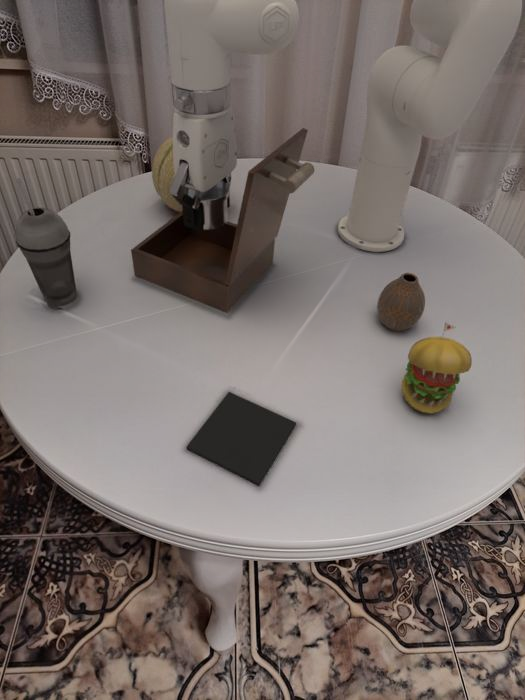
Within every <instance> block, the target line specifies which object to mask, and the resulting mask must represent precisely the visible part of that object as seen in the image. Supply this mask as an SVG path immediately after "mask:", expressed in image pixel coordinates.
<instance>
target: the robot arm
mask: <svg viewBox="0 0 525 700" xmlns="http://www.w3.org/2000/svg"><path fill="white" fill-rule="evenodd" d="M163 2H164V15H165V17H164V18H165V26H166V27H165V29H166V37H167V49H168V61H169V62H168V63H169V70H170V82H171V83H170V84H171V93H172V105H173V110H174V112H173V121H172V136H173V161H174V171H175V178H174V181H173V183H172V186H171V188H170V195H172V196H173V197H174V198H175V199H176V201H178V202H179V204H180V205H182V209H183V221H184V226H185V227H187V228H190V229H193V230H196V231H199V232H201V231H202V230H203V229H204V226H203V209H202V207H201V206H199V205H200V200H201V195H202V192H206V191H208V190H209V189H211V188H212V187H213V186H215V185H216V184H217V183H219V182H220V181H221V180H223V181H225V182H226V183H230V182H231V183H232V172H234V170H235V169H236V167H237V164H238V148H237V147H238V145H237V130H236V120H235V119H236V118H235V113H234V108H233V104H232V103H233V102H232V100H231V53H235V54H236V53H238V54H249V55H271V54H275V53H278V52H280V51H282V50H284V49H285V48H286V47H287V46H288V45H290V43H291V42H292V41H293V40H294V38H295V36H296V34H297V32H298V29H299V25H300V12H299V7H298V3H297V1H296V0H163ZM522 11H523V0H412V3H411V7H410V11H409V22H410V25H411V28H412V29H413V31H414V32H415V33H416V34H417V35H419V36H420V37H421V38H423V39H424V40H426V41H428V42H431V43H433V44H434V45H437V46H438V47H441V48H443V49H445V51H444V54H443V56H442V58H439V57H438V56H436V55H433V54H431V53H430V52H428V51H425V50H423V49H422V48H421V49H420V48H418V47H415V46H412V45H396V46H393V47H391V48H389V49H386V51H384V52H382V54H381V55H380V56H379V57H378V58H377V60H376V61H375V63H374V64H373V66H372V68H371V71H370V73H369V77H368V82H367V91H366V93H367V94H366V95H367V96H366V97H367V98H366V99H367V100H366V122H365V130H364V135H363V139H362V144H361V145H362V146H361V150H360V155H359V160H358V165H357V171H356V175H355V180H354V185H353V191H352V195H351V200H350V206H349V211H348V213H347V214H346V215H344V216H342V217H341V219H340V220H339V221H338V224H337V233H338V235H339V237H340V238H341V239H342V241H344V242H345V243H347V244H348V245H349V246H351V247H353V248H355V249H358V250H362V251H365V252H374V253H381V252H389V251H391V250H395V249H397V248H399V247H400V246H401V245H402V243H403V241H404V238H405V235H406V234H405V229H404V228H403V226H402V225H401V223H400V222H401V218H402V215H403V212H404V207H405V205H406V201H407V197H408V193H409V190H410V187H411V183H412V179H413V175H414V172H415V169H416V165H417V162H418V159H419V155H420V151H421V147H422V137H424V138H427V139H429V140H435V141H439V140H444V139H446V138H449V137H450V136H452V135H453V134H455V133H456V132H457V131H458V130H460V128H461V127H463V125H464V124H465V122H466V121H467V120H468V118H469V117H470V115H471V114H472V112H473V111H474V109H475V107H476V105H477V104H478V102H479V100H480V99H481V97H482V96H483V94H484V92H485V90H486V88H487V87H488V85H489V83H490V82H491V79H492V78H493V76H494V74H495V72H496V70H497V69H498V67H499V66H500V64H501V62H502V60H503V58H504V57H505V56H506V55H505V54H506V53H507V51H508V49H509V48H510V46H511V44H512V42H513V39H514V38H515V36H516V33H517V30H518V28H519V25H520V20H521V18H522V17H521V16H522ZM230 173H231V174H230ZM190 180H191V181H192V183H193V184H191V183H189V181H190ZM228 185H229V184H228ZM229 187H230V188H231V184H230V185H229ZM189 188H190V189H193V190H195V192H194V197H193V198H191V197H190V196H189V195H188V191H189ZM230 207H231V194H229V197H228V198H227V209H229V208H230Z"/></svg>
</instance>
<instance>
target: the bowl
mask: <svg viewBox="0 0 525 700" xmlns="http://www.w3.org/2000/svg"><path fill="white" fill-rule="evenodd" d="M189 183H191V184H193V183H192V181H191V180H190V181H189ZM194 192H195V190H193V189H190V188H189V191H188V195H189V196H190V197H191V198H193V197H194ZM230 193H231V186H230V187H229V185H228V184H227V183H226V182H225V181H223V180H221V181H220V182H219V183H217V184H216V185H215V186H213V187H212V188H211V189H209V190H208V191H206V192H202V195H201V200H200V205H199V206H201V207H202V209H203V226H204V230H211V229H216V228H219V227H221V226H223V225H224V224H225V223H226V222H227V221H228V219H229V217H228V216H229V215H228V208H227V198H228V197H229V194H230ZM230 195H231V194H230Z"/></svg>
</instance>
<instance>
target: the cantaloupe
mask: <svg viewBox="0 0 525 700" xmlns="http://www.w3.org/2000/svg"><path fill="white" fill-rule="evenodd" d="M153 158H154V159H153V161H152V166H151V178H152V183H153V187H154V190H155V191H156V193H157V195H158V196H159V197H160V199H161V200H162V202H163V203H164V204H165V205H167V207H169V208H170V209H171V210H174V211H175V212H178V213H180V212H181V211H183V209H182V205H180V204H179V202H178V201H176V199H175V198H174V197H173V196H172V195H170V188H171V186H172V183H173V181H174V178H175V171H174V161H173V135H172V136H170V137H168V138H167V139H166V140H165V141H164V142H163V143H162V144H161V145H159V147H158V149H157V151H156V153H155V156H154V157H153ZM230 174H231V175H232V172H231V173H230ZM231 183H232V181H231V182H230V183H227V184H229V185H230V186H231Z"/></svg>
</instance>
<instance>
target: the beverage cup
mask: <svg viewBox="0 0 525 700" xmlns="http://www.w3.org/2000/svg"><path fill="white" fill-rule="evenodd" d="M15 181H16V183H17V186H18V188H19V190H20V193H21V195H22V197H23V200H24V203H25V205H26V207H27V210H26V211H24V212H23V213H22V214H20V216H19V217H18V218H17V220H16V223H15V228H14V238H15V244H16V246H17V247H18V248H19V250H20V252H21V253H22V255H23V256H24V258H25V259H26V262H27V264H28V266H29V268H30V271H31V273H32V275H33V277H34V280H35V282H36V284H37V286H38V289H39V290H40V293H41V295H42V297H43V299H44V301H45V302H46V305H47V307H49V308H50V309H52V310H56V311H62V310H64V308H62V307H64V306H68V305H70V304H72V303H73V302H74V301H75V300H76V298H77V285H76V280H75V279H76V278H75V272H74V266H73V260H72V252H71V232H70V230H69V227H68V226H67V224H66V222H65V221H64V219H63V217H62V216H60V215H59V214H58V213H56V212H55V211H53V210H51V209H49V208H46V207H33V206H32V204H31V201H30V200H29V197H28V194H27V192H26V190H25V188H24V184H23V182H22V180H21V178H19V177H18V178H16V179H15Z"/></svg>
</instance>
